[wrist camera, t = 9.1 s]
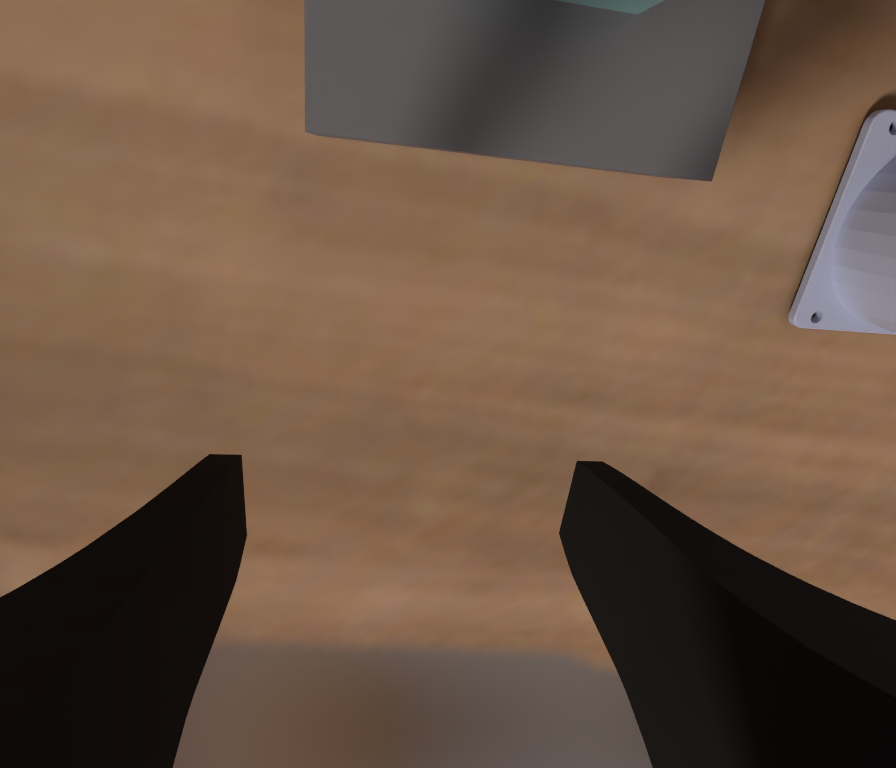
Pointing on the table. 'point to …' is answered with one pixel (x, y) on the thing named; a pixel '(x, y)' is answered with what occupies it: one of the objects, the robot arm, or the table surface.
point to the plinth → (532, 79)
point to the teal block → (618, 4)
